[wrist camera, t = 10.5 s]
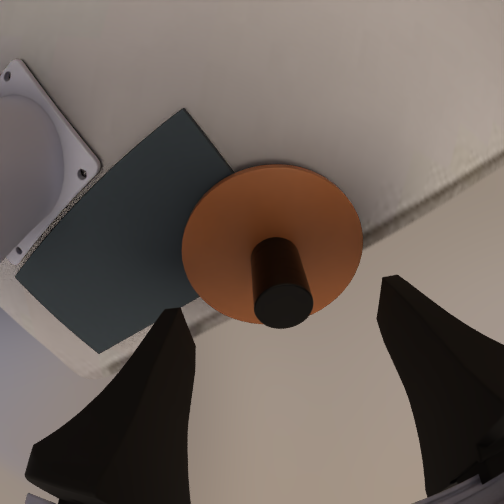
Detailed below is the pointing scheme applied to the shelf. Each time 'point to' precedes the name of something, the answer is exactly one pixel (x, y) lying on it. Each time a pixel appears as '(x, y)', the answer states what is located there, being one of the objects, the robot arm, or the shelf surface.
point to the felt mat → (127, 238)
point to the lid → (272, 245)
